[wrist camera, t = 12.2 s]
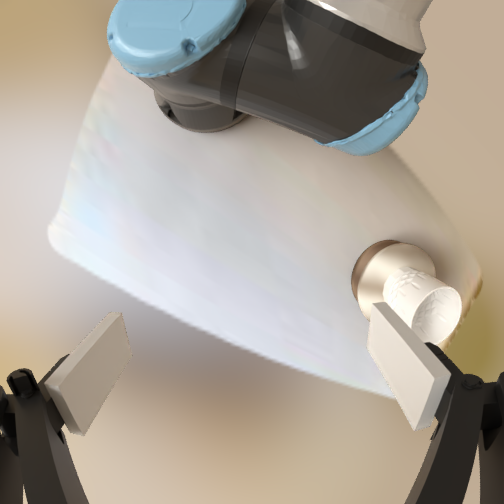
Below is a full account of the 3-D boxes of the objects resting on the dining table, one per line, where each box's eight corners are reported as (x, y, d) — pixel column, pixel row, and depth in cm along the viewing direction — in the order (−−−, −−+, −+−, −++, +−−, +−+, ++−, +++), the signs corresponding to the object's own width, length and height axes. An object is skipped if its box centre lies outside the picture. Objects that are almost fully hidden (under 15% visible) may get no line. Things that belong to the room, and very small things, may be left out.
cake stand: (349, 238, 42) (362, 246, 37) (422, 235, 42) (440, 243, 37) (345, 317, 46) (355, 333, 40) (413, 309, 45) (428, 323, 40)
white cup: (383, 261, 38) (418, 287, 28) (428, 262, 38) (468, 285, 28) (374, 314, 39) (403, 350, 30) (418, 312, 40) (452, 343, 30)
